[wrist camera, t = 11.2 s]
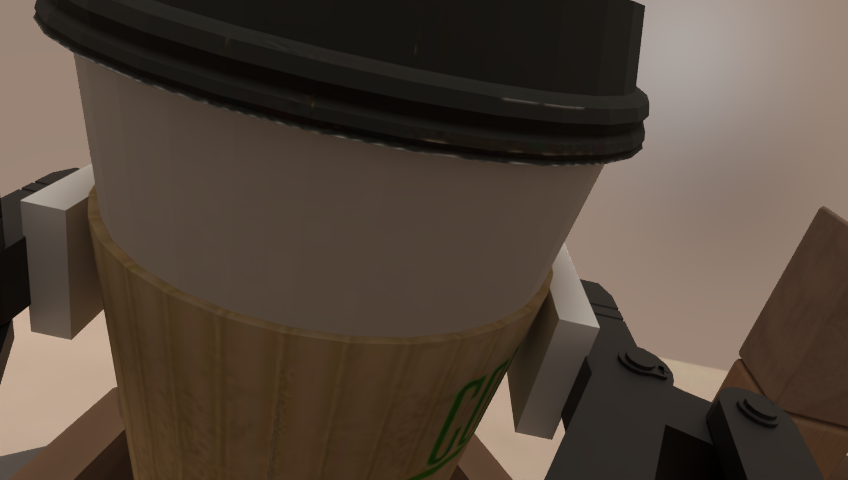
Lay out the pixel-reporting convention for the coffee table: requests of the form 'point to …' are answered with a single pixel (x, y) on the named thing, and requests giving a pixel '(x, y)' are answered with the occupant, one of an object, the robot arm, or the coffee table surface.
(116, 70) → the coffee cup
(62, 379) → the coffee table surface
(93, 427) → the cup collar
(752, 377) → the wooden block
